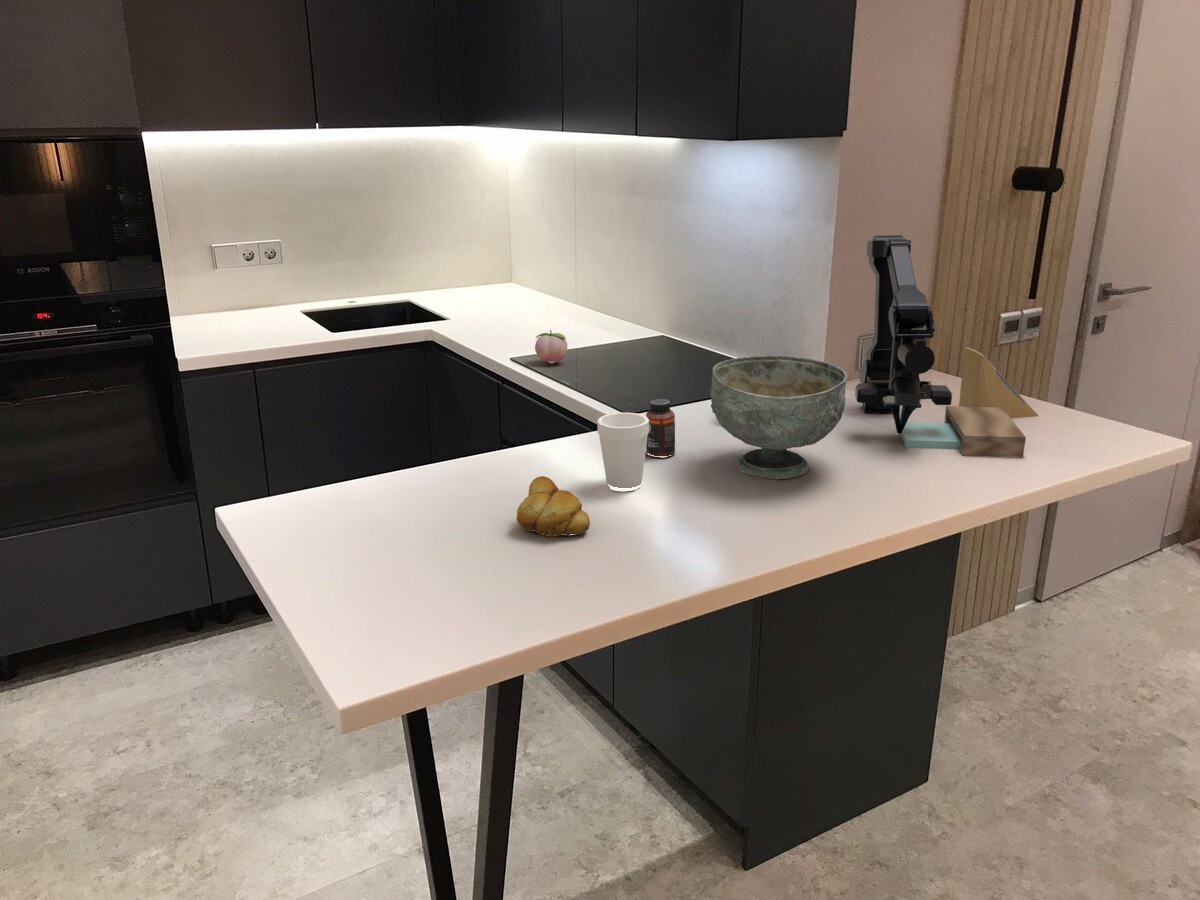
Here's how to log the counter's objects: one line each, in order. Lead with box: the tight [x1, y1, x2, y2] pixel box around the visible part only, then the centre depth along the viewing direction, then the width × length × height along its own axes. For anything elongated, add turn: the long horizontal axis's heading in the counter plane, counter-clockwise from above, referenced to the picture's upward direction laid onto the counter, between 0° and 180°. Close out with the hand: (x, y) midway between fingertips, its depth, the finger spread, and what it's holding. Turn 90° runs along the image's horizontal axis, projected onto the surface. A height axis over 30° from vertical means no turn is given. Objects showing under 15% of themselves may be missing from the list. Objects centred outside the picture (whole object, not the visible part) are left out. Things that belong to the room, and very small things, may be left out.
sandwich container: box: [958, 346, 1040, 419], centre depth 209 cm, size 9×15×15 cm, turn 95°
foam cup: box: [596, 412, 649, 488], centre depth 173 cm, size 10×9×13 cm
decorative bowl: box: [709, 355, 848, 480], centre depth 179 cm, size 26×26×20 cm
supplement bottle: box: [645, 398, 676, 456], centre depth 189 cm, size 6×6×11 cm
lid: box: [899, 421, 962, 450], centre depth 196 cm, size 12×12×2 cm
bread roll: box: [516, 475, 591, 537], centre depth 156 cm, size 13×10×8 cm
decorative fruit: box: [534, 329, 568, 362], centre depth 262 cm, size 9×8×10 cm
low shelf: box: [943, 405, 1027, 458], centre depth 194 cm, size 12×20×4 cm, turn 171°
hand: (899, 433), depth 197 cm, fingers closed
